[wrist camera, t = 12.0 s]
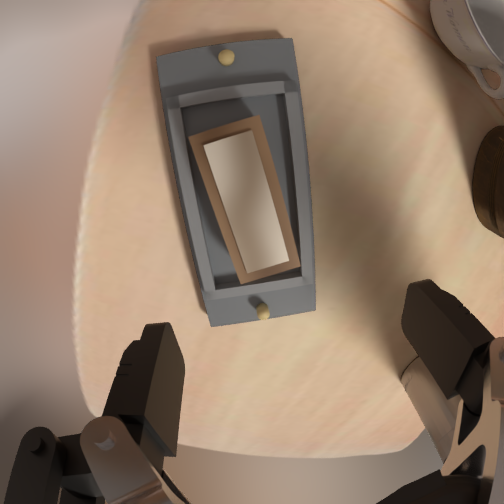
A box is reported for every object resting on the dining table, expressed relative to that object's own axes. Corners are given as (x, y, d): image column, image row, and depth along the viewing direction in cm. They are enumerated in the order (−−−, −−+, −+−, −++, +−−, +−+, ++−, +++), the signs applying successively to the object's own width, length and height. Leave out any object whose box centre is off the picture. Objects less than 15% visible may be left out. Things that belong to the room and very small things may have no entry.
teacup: (414, -24, 15) (456, -45, 8) (479, 17, 17) (521, 10, 9) (416, 74, 21) (469, 68, 14) (480, 108, 22) (529, 115, 15)
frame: (254, 116, 21) (259, 114, 18) (291, 248, 26) (301, 267, 23) (194, 135, 21) (187, 137, 18) (238, 264, 26) (240, 285, 23)
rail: (288, 42, 20) (295, 34, 17) (312, 302, 31) (318, 317, 28) (160, 60, 19) (152, 53, 17) (211, 318, 31) (210, 334, 28)
